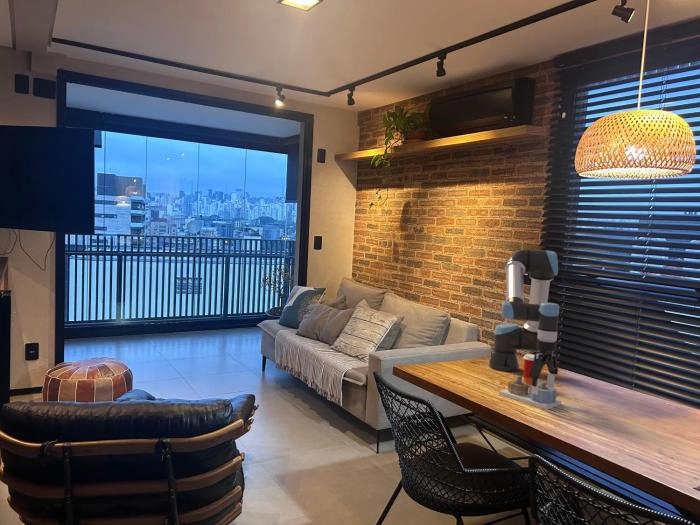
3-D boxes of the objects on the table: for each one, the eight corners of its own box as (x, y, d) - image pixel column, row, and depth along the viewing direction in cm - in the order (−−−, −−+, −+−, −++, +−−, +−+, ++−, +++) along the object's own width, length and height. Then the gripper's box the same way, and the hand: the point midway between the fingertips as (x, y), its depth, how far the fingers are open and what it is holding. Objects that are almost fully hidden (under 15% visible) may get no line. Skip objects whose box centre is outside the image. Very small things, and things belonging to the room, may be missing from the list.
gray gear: (559, 401, 212) (560, 389, 212) (547, 405, 206) (548, 393, 205) (536, 394, 220) (537, 382, 220) (524, 398, 213) (525, 386, 213)
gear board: (513, 390, 229) (515, 371, 229) (561, 404, 213) (562, 384, 212) (498, 394, 221) (500, 375, 221) (546, 409, 205) (548, 388, 204)
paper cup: (536, 383, 242) (538, 354, 241) (540, 388, 234) (543, 358, 233) (519, 382, 243) (521, 353, 242) (523, 387, 235) (525, 357, 234)
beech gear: (514, 388, 227) (515, 379, 226) (531, 393, 221) (532, 384, 220) (504, 391, 221) (505, 382, 221) (521, 396, 215) (522, 387, 215)
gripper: (552, 336, 222) (548, 384, 223) (522, 341, 206) (518, 393, 207) (569, 339, 217) (565, 389, 218) (540, 345, 200) (535, 398, 202)
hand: (542, 391), depth 213 cm, fingers open, 12 cm apart
